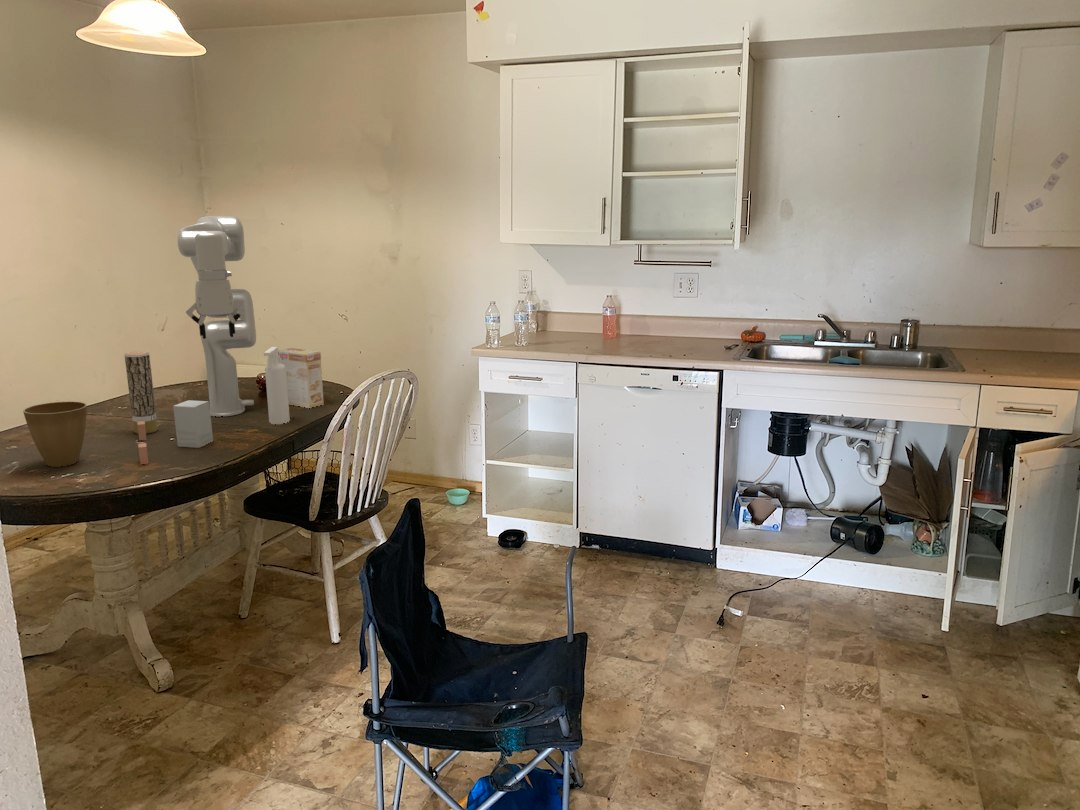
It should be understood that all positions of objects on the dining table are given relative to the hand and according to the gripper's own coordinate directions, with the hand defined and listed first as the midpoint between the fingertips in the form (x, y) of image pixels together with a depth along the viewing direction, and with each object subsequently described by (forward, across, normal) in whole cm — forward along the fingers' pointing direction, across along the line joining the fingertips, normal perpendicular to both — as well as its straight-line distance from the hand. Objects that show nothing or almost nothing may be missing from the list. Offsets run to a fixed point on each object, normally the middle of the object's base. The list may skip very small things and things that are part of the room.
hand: (218, 336), depth 236 cm
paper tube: (+32, +22, -21) cm, 44 cm away
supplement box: (+32, +9, 0) cm, 33 cm away
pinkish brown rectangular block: (+32, +23, 0) cm, 39 cm away
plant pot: (+32, +43, +4) cm, 54 cm away
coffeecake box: (+32, -29, -37) cm, 57 cm away
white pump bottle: (+32, -18, -16) cm, 40 cm away
